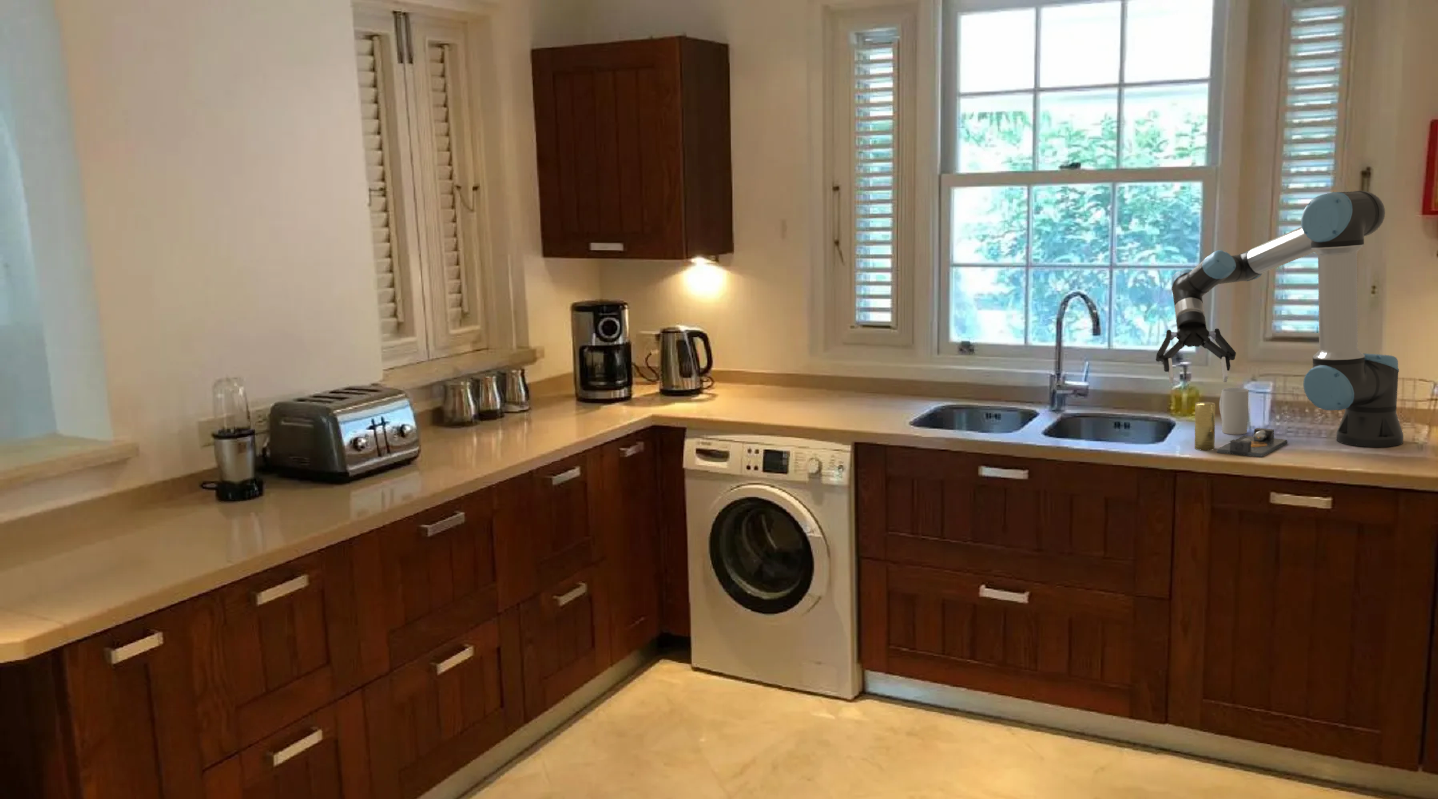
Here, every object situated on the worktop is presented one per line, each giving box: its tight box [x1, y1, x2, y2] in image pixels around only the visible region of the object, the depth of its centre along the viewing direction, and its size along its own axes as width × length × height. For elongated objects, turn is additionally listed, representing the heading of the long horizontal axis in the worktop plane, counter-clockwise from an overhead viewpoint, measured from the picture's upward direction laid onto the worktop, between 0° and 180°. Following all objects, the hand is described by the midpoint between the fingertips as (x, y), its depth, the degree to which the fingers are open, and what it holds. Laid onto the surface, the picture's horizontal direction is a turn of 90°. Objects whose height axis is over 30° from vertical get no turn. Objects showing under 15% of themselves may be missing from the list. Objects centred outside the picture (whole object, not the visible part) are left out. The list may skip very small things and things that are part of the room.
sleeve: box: [1194, 401, 1216, 451], centre depth 303 cm, size 5×5×12 cm
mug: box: [1218, 387, 1250, 436], centre depth 321 cm, size 10×7×12 cm, turn 11°
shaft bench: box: [1216, 427, 1288, 458], centre depth 301 cm, size 19×11×3 cm, turn 136°
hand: (1198, 379), depth 311 cm, fingers open, 13 cm apart
